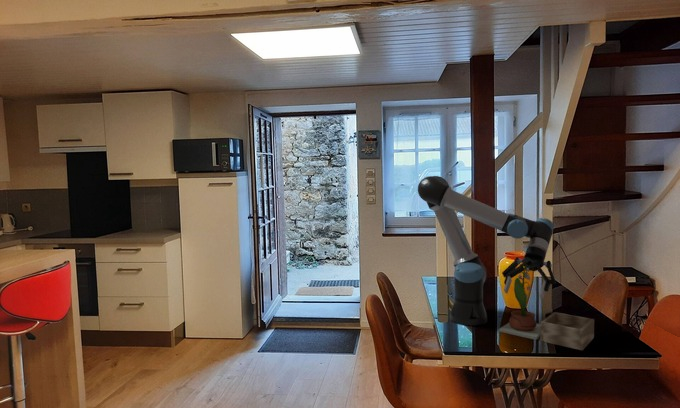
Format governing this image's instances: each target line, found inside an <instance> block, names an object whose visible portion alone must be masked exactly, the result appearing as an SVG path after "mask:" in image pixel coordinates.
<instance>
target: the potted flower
mask: <svg viewBox="0 0 680 408" xmlns="http://www.w3.org/2000/svg"><path fill="white" fill-rule="evenodd" d="M527 266H528V265H527ZM523 267H524V266H523ZM528 267H529V266H528ZM528 267H526V265H525V267H524V271H522V272H520V273H519V274H518V275H517V277H516V278H515V279H514V283H513V284H514V285H513V291H514V297H515V298H516V300H517V302H518V304H519V307H520V310H512V311H511V312H510V314H511V315H510V318H509V321H508V323H509V324H510V325H511V326H512V327H513V328H515V329H518V330H524V331H528V330H532V329H534V328H535V327H536V326H537V325H536V323H537V320H536V318H535V313H534V312H531V311H529V310H526V307H527V301H528V294H527V293H526V291H531V290H532V289H531V287H530V285H529V282H527V281H525V279H526V280H528V281H529V280H531V277H530V273H528V272H531V271H530V270H529V268H528ZM525 268H526V270H525ZM521 273H522V275H521ZM526 283H527V284H528V286H526V288H525V284H526Z"/></svg>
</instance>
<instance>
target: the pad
mask: <svg viewBox="0 0 680 408" xmlns="http://www.w3.org/2000/svg"><path fill="white" fill-rule="evenodd" d="M536 325H537V326H536V327H535V328H534V329H532V330H528V331H524V330H518V329H515V328H513V327H512V326H511V325H510V324H509V322H507V323H506V324H505V325H503V326H501V327H500V328H499V329H498V332H499V333H505V334H509V335H514V336H518V337H522V338H527V339H530V340H535V341H537V340H538V339H539V338H540V333H541V323H537V322H536Z"/></svg>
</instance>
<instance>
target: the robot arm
mask: <svg viewBox="0 0 680 408" xmlns="http://www.w3.org/2000/svg"><path fill="white" fill-rule="evenodd" d="M417 194H418V196H419V197H420V199H422V200H423V201H424V202H425V203H426V204H427V206H428V208H429V210H431V211H433V212H434V214H435V217H436V219H437V220H438V221H437V222H438V223H439V225H440V228H441V231H442V232H443V234H444V237H445V240H446V241H447V244H448V247H449V249H450V251H451V253H452V256H453V258H454V261H453V263H452V264H453V267H454V271H453V276H454V277H453V278H454V280H453V281H454V283H453V285H454V287H453V289H454V292H453V293H454V302H453V304H452V307H451V310H450V314H449V319H450V321H451V322H454V323H456V324H459V325H464V326H482V325H485V324H487V323H488V314H487V311H486V308H485V306H484V284H485V282H486V280H487V275H488V273H487V268H486V267H485V266H484V264H483V262H481V259H480V257H479V255H478V253H475V252H474V251H473V250H472V247H471V245H470V242H469V241H468V238H467V236H466V234H465V231H464V229H463V227H462V224H461V222H460V220H459V217H458V215H457V213H459V214H462V215H465V216H466V217H469V218H471V219H473V220H474V221H475V220H476V221H477V222H480V223H482V224H483V225H486V226H489V227H491V228H494V229H496V230H498V231H500V232H503V233H505V234H507V235H509V236H510V237H511V238H512V239H516V240H517V239H521V238H524V237H526V238H529V242H528V244H527V247H526V251H525V254H524V257H523V258H522V259H521V258H519V256H516V257H515V259H514V261H512V263H511V264H509V265H508V266H507V267H506V268H505V269H504V270H503V271H502V273H501V274H502V276H503V278H504V281H503V284H504V289H503V291H504V294H506V295H507V294H508V293H509V290H510V288H511V285H512V281H513V279H512V278H514V277H515V276H518V275H520V274H521V273H522V272H524V267H525V265H526V267H528V266H529V267H528V268H529V270H530V271H529V272H531V271H532V272H536V271H537V272H538V273H539V274H540V276H541V277H542V280H544V281H542V284H541V288H540V292H539V298H540V300H544V298H545V294H546V292H549V289H550V288H551V287H550V286H551V285H553V286H554V285H556V284H557V282H556V279H555V276H554V273H553V270H552V266H553V264H552V263H551V260H547V261H545V259H546V256H547V253H548V249H549V246H550V242H551V240H552V237H553V233H554V228H555V225H554V223H553V221H552V220H550V219H549V218H545V217H544V218H543V217H540V218H538V219H536V220H531V219H530V218H525V217H523V216H520V215H517V214H514V213H506V212H505V211H502V210H499V209H497V208H495V207H493V206H490V205H489V204H486V203H483V202H481V201H478V200H476V199H474V198H472V197H469V196H466V195H464V194H462V193H460V192H458V191H456V190H453V189H452V187H451V186H450V184H449V182H448V181H447V180H446V179H445V178H444V177H442V176H439V175H430V176H425V177H424V178H422V179H421V180H420V182H418V185H417ZM527 265H528V266H527ZM544 266H545V268H547V271H548V274H549V277H550V279H549V278H548V276H547V274H546V273H545V272H544V269H542V268H543V267H544ZM525 270H526V268H525ZM520 272H521V273H520Z"/></svg>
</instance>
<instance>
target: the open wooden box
mask: <svg viewBox="0 0 680 408" xmlns="http://www.w3.org/2000/svg"><path fill="white" fill-rule="evenodd" d="M540 324H541V333H540V337H539V338H540V340H539V341H540V342H543V341H544V343H548V344H552V345H557V346H562V347H565V348H571V349H574V350H579V351H584V349H585V348H586V347H588V345H589V344H590V343H591V342H592V341H593V339H594V338H595V319H594V318H589V317H584V316H579V315H572V314H567V313H562V312H557V311H554V312H552V313H551V314H549V315H548V316H547V317H545V319H543V320H542V321H540Z"/></svg>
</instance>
